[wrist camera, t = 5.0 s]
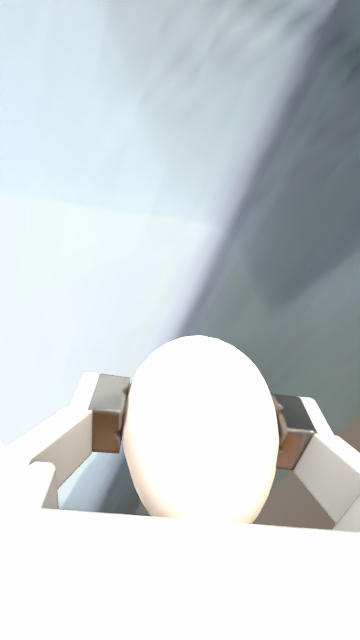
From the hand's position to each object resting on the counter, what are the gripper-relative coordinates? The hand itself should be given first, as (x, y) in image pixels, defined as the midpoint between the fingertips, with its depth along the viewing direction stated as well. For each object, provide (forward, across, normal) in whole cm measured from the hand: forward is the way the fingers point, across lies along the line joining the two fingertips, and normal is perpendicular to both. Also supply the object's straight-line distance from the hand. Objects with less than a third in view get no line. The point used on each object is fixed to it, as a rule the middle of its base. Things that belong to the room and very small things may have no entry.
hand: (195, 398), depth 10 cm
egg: (+2, 0, 0) cm, 2 cm away
